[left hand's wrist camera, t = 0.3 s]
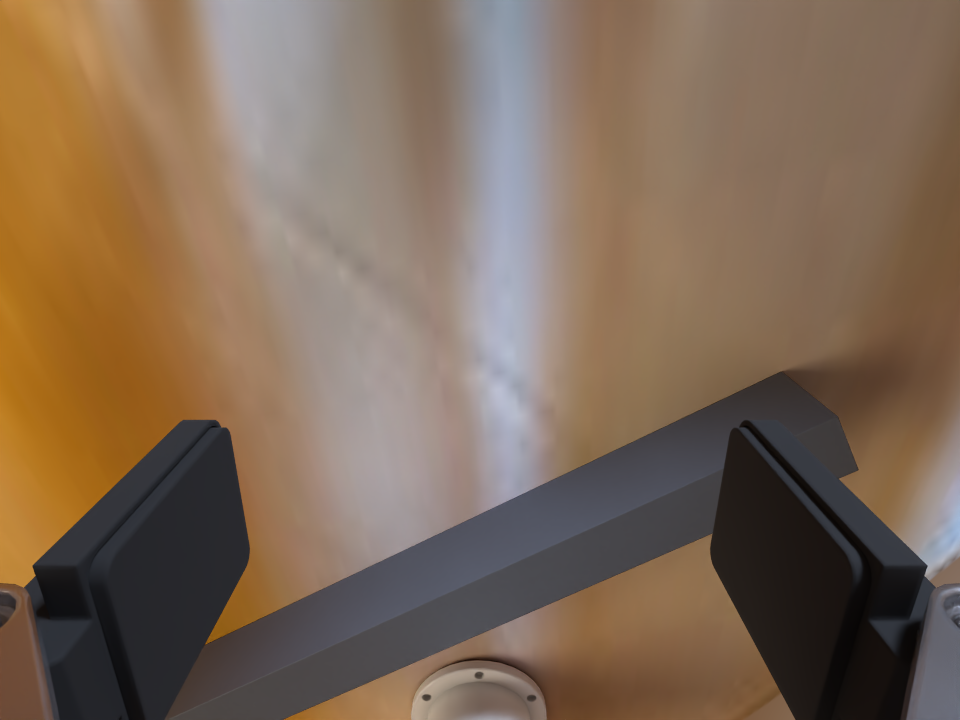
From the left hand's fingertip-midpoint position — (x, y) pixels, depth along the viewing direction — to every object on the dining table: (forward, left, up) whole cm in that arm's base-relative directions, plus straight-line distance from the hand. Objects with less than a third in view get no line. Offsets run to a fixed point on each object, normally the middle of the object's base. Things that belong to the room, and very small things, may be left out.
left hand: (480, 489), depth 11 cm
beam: (-29, +7, -31) cm, 43 cm away
